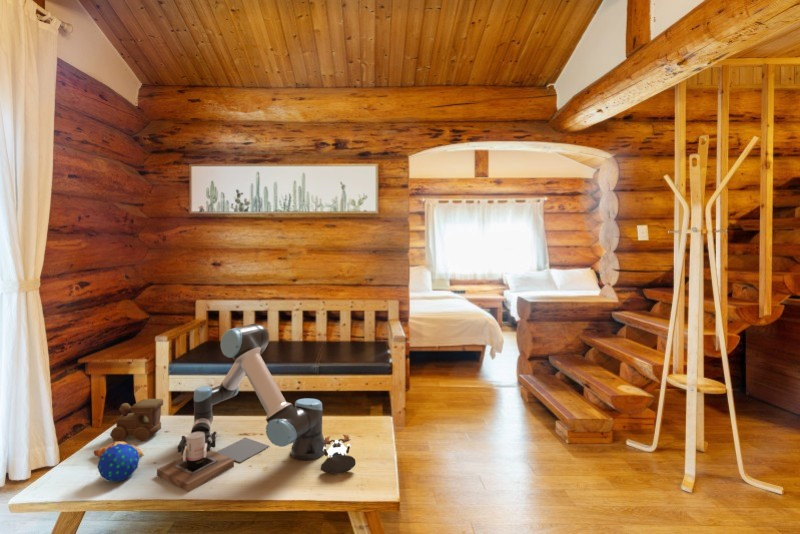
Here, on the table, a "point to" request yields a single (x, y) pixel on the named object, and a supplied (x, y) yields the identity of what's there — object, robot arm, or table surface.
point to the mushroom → (118, 462)
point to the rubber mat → (242, 449)
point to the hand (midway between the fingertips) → (194, 455)
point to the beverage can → (195, 451)
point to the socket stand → (190, 480)
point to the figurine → (337, 456)
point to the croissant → (102, 450)
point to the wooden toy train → (138, 420)
